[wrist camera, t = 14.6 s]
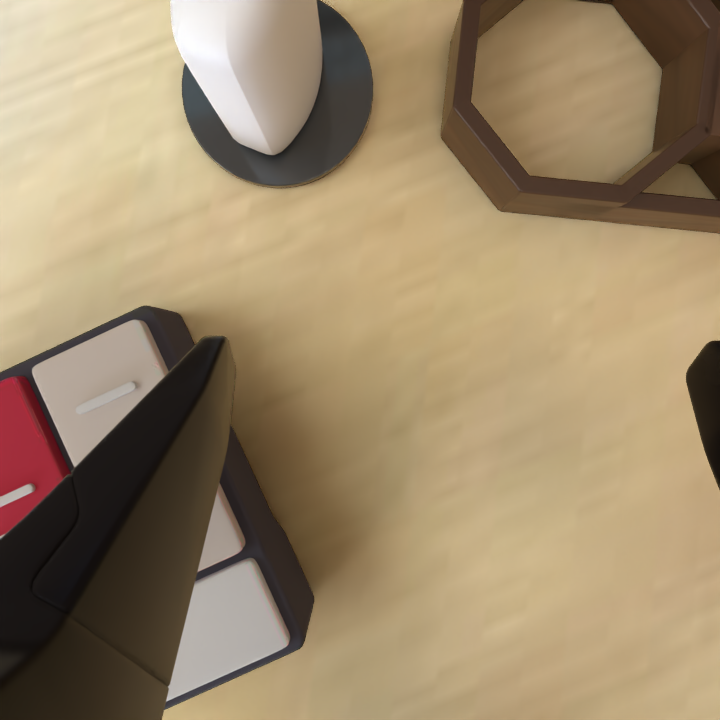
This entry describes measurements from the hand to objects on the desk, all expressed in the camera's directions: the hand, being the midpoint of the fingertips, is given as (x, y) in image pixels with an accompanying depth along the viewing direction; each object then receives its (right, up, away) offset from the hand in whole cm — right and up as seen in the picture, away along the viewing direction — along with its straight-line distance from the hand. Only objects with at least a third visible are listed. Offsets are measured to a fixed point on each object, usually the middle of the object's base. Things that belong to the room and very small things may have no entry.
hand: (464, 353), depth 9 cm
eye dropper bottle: (-6, +12, +13) cm, 18 cm away
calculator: (-12, -7, +14) cm, 20 cm away
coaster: (-6, +12, +13) cm, 18 cm away
